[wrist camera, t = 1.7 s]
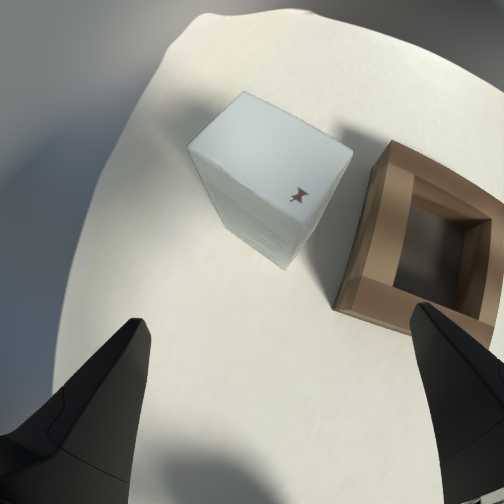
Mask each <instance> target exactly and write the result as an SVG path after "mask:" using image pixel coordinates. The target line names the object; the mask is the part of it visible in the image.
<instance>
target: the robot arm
mask: <svg viewBox="0 0 504 504" xmlns="http://www.w3.org/2000/svg"><path fill="white" fill-rule="evenodd" d="M409 327H410V331H411V336H412V340H413V345H414V350H415V355H416V360H417V364H418V368H419V371H420V375H421V378H422V382H423V386H424V389H425V393H426V397H427V401H428V405H429V409H430V414H431V418H432V423H433V428H434V433H435V438H436V443H437V449H438V455H439V461H440V469H441V476H442V485H443V495H444V504H461V503H464V502H467V501H470V500H473V499H476V498H479V497H480V498H479V499H477V500H476V501H474V502H472V503H471V504H504V363H503V362H502V361H501V360H499V359H497V357H496V356H495V355H494V354H492V353H491V352H490V351H489V350H488V349H487V348H485V347H484V346H483V345H482V344H481V343H479V342H478V341H477V340H476V339H475V338H473V337H472V336H471V335H470V334H468V333H467V332H466V331H465V330H463V329H462V328H461V327H460V326H458V325H457V324H456V323H455V322H453V321H452V320H451V319H450V318H448V317H447V316H446V315H444V314H443V313H442V312H441V311H439V310H438V309H437V308H435V307H434V306H433V305H431V304H430V303H429V302H421V303H417V304H416V306H415V308H414V311H413V313H412V315H411V318H410V321H409ZM150 348H151V334H150V332H149V330H148V328H147V325H146V323H145V321H144V320H143V319H142V318H131V319H129V320H128V321H127V322H126V323H125V324H124V325H123V326H122V327H121V328H120V329H119V330H118V331H117V332H116V333H115V334H114V335H113V336H112V337H111V338H110V339H109V340H108V341H107V342H106V343H105V344H104V345H103V346H102V347H101V348H100V349H99V350H98V351H97V352H95V353H94V354H93V355H92V356H91V357H90V358H89V359H88V361H87V362H86V363H85V364H84V365H83V366H82V367H81V368H80V369H79V370H78V371H77V372H76V373H75V374H74V375H73V376H72V377H71V378H70V379H69V380H68V381H67V382H66V383H65V384H64V387H63V386H62V387H61V388H60V389H59V390H58V391H57V392H56V393H55V394H54V395H53V396H52V397H51V398H50V399H49V400H48V401H47V402H46V403H45V404H44V405H43V406H42V407H41V408H40V409H39V410H37V411H36V412H35V413H34V414H33V415H32V416H31V417H29V418H28V419H27V420H26V421H25V422H24V423H23V424H21V425H20V426H19V427H18V428H17V429H15V430H14V431H12V432H11V433H9V434H6V435H2V436H0V504H128V495H129V486H130V484H129V483H130V477H131V469H132V462H133V455H134V448H135V442H136V436H137V430H138V424H139V419H140V413H141V408H142V403H143V398H144V393H145V388H146V383H147V376H148V366H149V356H150Z"/></svg>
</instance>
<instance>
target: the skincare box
mask: <svg viewBox="0 0 504 504" xmlns="http://www.w3.org/2000/svg"><path fill="white" fill-rule="evenodd" d="M187 150H188V152H189V154H190V156H191V158H192V160H193V162H194V164H195V166H196V169H197V171H198V173H199V175H200V177H201V179H202V181H203V183H204V185H205V187H206V189H207V191H208V193H209V195H210V197H211V199H212V201H213V203H214V205H215V207H216V209H217V211H218V213H219V215H220V217H221V219H222V221H223V224H224V226H225V227H226V229H228V230H229V231H230V232H232V233H233V234H234V235H236V236H237V237H239V238H240V239H241V240H243V241H244V242H246V243H247V244H248V245H250V246H251V247H252V248H254V249H255V250H256V251H258V252H259V253H261V254H262V255H263V256H265V257H266V258H267V259H269V260H270V261H272V262H273V263H274V264H276V265H277V266H278V267H280V268H281V269H283V270H286V269H287V267H288V266H289V265H290V263H291V262H292V261H293V259H294V258H295V257H296V255H297V254H298V253H299V251H300V250H301V249H302V247H303V246H304V244H305V243H306V241H307V240H308V238H309V237H310V235H311V234H312V233H313V231H314V230H315V228H316V226H317V224H318V222H319V221H320V219H321V217H322V215H323V213H324V211H325V209H326V207H327V205H328V204H329V202H330V200H331V198H332V196H333V194H334V192H335V190H336V188H337V186H338V184H339V182H340V180H341V179H342V177H343V174H344V172H345V170H346V169H347V167H348V165H349V163H350V161H351V159H352V156H353V151H352V150H351V149H350V148H348V147H347V146H345V145H343V144H342V143H340V142H339V141H337V140H335V139H334V138H332V137H330V136H329V135H327V134H325V133H324V132H322V131H320V130H319V129H317V128H315V127H313V126H312V125H310V124H308V123H306V122H304V121H303V120H301V119H299V118H297V117H295V116H293V115H291V114H290V113H288V112H286V111H284V110H282V109H280V108H278V107H276V106H274V105H272V104H270V103H268V102H266V101H264V100H262V99H260V98H257V97H255V96H253V95H251V94H249V93H247V92H242V93H241V94H240V95H239V96H238V97H237V98H236V99H235V100H234V101H233V102H232V103H231V104H230V105H229V106H228V107H227V108H225V109H224V110H223V111H222V112H221V113H220V114H219V115H218V116H217V117H216V118H215V119H214V120H213V121H212V122H211V123H210V124H209V125H208V126H206V127H205V128H204V129H203V130H202V131H201V132H200V133H199V134H198V135H197V136H196V137H195V138H194V139H193V140H192V141H191V142H190V143H189V144H188V145H187Z"/></svg>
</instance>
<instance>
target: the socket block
mask: <svg viewBox="0 0 504 504" xmlns="http://www.w3.org/2000/svg"><path fill="white" fill-rule="evenodd" d="M503 275H504V204H503V203H502V202H500V201H499V200H498V199H496V198H495V197H493V196H492V195H490V194H489V193H487V192H486V191H484V190H483V189H481V188H480V187H478V186H477V185H475V184H474V183H472V182H470V181H469V180H467V179H465V178H464V177H462V176H461V175H459V174H457V173H455V172H454V171H452V170H450V169H449V168H447V167H445V166H443V165H441V164H440V163H438V162H436V161H434V160H432V159H430V158H428V157H426V156H424V155H423V154H421V153H419V152H417V151H415V150H413V149H410V148H408V147H406V146H404V145H402V144H400V143H398V142H396V141H393V140H391V142H390V143H389V145H388V146H387V147H386V149H385V150H384V152H383V153H382V155H381V156H380V158H379V159H378V161H377V162H376V163H375V165H374V166H373V168H372V170H371V175H370V179H369V184H368V188H367V193H366V197H365V201H364V205H363V209H362V213H361V217H360V221H359V225H358V228H357V232H356V236H355V239H354V243H353V247H352V250H351V253H350V257H349V260H348V263H347V267H346V270H345V273H344V276H343V280H342V283H341V286H340V289H339V292H338V295H337V298H336V301H335V304H334V307H333V310H334V311H337V312H340V313H343V314H346V315H349V316H352V317H355V318H358V319H360V320H363V321H366V322H369V323H372V324H375V325H378V326H381V327H384V328H387V329H390V330H394V331H397V332H400V333H403V334H406V335H409V336H411V331H410V327H409V321H410V318H411V315H412V313H413V311H414V308H415V306H416V304H417V303H421V302H429V303H430V304H431V305H433V306H434V307H435V308H437V309H438V310H439V311H441V312H442V313H443V314H444V315H446V316H447V317H448V318H450V319H451V320H452V321H453V322H455V323H456V324H457V325H458V326H460V327H461V328H462V329H463V330H465V331H466V332H467V333H468V334H470V335H471V336H472V337H473V338H475V339H476V340H477V341H478V342H479V343H481V344H482V345H483V346H484V347H485V348H487V349H488V350H489V347H490V343H491V339H492V335H493V331H494V327H495V322H496V318H497V313H498V308H499V302H500V296H501V290H502V283H503Z"/></svg>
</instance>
